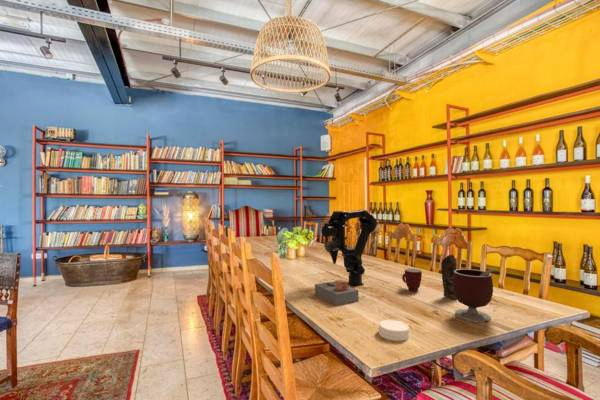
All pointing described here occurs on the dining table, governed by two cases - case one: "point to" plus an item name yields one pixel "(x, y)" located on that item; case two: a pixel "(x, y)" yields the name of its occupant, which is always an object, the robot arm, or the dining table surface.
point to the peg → (341, 285)
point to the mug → (412, 278)
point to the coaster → (394, 330)
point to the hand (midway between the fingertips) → (339, 265)
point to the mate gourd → (473, 292)
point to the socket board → (335, 294)
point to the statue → (448, 275)
